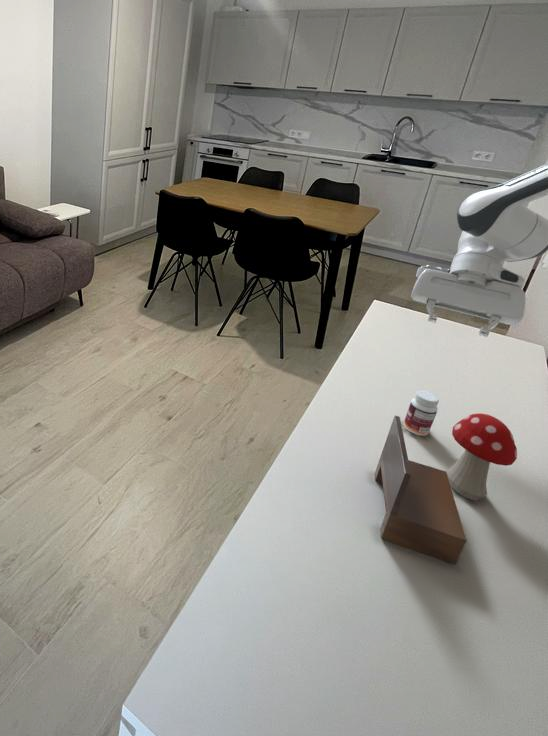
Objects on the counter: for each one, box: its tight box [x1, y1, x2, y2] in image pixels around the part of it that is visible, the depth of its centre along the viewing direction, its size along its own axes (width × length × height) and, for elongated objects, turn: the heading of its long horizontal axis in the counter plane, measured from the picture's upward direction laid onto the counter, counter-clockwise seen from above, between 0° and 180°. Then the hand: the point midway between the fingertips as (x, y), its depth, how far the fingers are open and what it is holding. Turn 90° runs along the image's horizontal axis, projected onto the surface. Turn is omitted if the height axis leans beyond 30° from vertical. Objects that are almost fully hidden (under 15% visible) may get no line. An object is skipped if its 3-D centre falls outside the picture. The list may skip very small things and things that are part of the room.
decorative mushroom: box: [446, 412, 518, 501], centre depth 87 cm, size 10×9×15 cm
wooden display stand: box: [374, 415, 468, 566], centre depth 80 cm, size 10×16×13 cm, turn 155°
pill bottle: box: [402, 389, 440, 436], centre depth 104 cm, size 5×5×8 cm
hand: (457, 328), depth 107 cm, fingers open, 8 cm apart
